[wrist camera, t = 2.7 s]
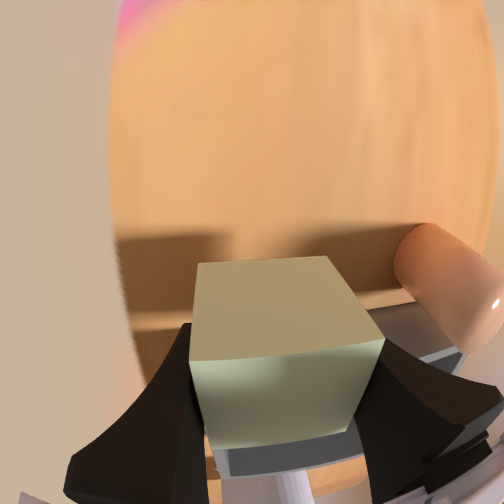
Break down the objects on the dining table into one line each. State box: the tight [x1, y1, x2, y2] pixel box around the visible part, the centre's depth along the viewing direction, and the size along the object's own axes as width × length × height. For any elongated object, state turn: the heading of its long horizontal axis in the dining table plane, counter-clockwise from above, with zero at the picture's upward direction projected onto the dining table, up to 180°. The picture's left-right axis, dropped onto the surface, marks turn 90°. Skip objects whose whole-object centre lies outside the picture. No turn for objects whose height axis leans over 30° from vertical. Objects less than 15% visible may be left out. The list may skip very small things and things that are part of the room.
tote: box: [204, 302, 468, 480], centre depth 18 cm, size 18×14×5 cm
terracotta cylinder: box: [393, 223, 504, 354], centre depth 13 cm, size 5×5×7 cm
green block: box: [189, 256, 385, 450], centre depth 10 cm, size 5×5×5 cm
